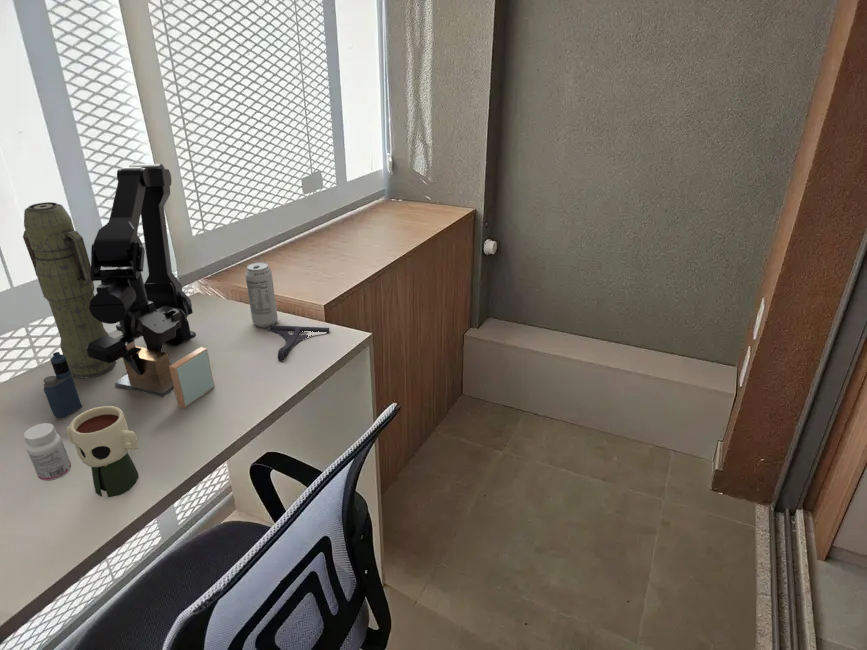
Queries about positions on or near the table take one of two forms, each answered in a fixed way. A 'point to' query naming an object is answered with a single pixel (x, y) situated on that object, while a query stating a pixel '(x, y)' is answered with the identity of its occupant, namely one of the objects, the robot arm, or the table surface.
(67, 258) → the thermos
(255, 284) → the energy drink can
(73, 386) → the vaping device
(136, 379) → the block on grey plate
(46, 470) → the pill bottle
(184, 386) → the tile
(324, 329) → the bracket
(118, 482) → the character mug
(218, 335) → the table surface
